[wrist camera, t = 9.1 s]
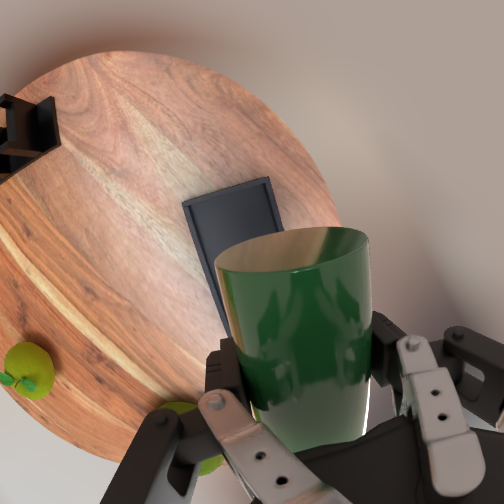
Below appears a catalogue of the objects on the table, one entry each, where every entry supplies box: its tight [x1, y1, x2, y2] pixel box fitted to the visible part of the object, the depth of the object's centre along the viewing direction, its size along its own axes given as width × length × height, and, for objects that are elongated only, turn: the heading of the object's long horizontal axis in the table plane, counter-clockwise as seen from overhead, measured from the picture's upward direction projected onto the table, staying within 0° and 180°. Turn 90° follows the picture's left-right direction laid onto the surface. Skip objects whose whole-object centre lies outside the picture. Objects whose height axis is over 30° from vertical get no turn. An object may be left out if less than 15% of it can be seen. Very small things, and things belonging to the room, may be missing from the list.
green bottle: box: [214, 227, 372, 453], centre depth 11 cm, size 15×5×5 cm, turn 11°
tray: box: [182, 176, 284, 338], centre depth 34 cm, size 19×10×3 cm, turn 16°
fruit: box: [0, 342, 55, 400], centre depth 31 cm, size 9×9×10 cm
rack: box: [0, 94, 61, 185], centre depth 24 cm, size 14×8×9 cm, turn 106°
